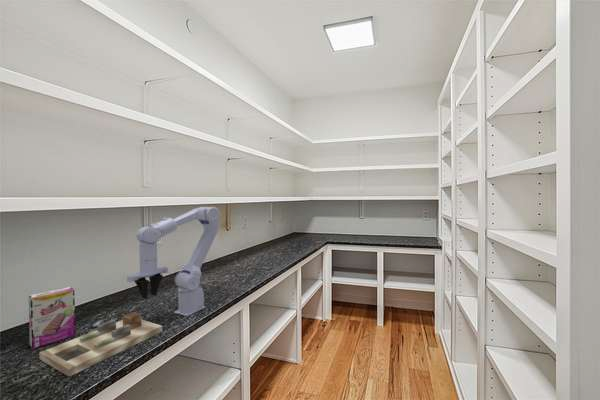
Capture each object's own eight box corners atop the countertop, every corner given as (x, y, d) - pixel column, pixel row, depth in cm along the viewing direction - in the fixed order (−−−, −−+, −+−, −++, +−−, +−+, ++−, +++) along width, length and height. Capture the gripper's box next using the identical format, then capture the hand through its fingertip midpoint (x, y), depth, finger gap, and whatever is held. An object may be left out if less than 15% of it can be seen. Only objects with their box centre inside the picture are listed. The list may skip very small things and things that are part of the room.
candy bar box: (32, 350, 87) (29, 298, 87) (29, 345, 91) (27, 295, 90) (76, 336, 96) (74, 288, 96) (73, 331, 99) (71, 285, 99)
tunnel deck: (131, 321, 106) (131, 308, 106) (162, 331, 97) (161, 317, 97) (39, 359, 82) (38, 342, 82) (69, 376, 74) (68, 357, 74)
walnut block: (134, 323, 100) (134, 312, 100) (141, 325, 98) (141, 314, 98) (123, 328, 97) (122, 316, 96) (129, 330, 95) (129, 318, 95)
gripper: (159, 255, 111) (160, 289, 111) (121, 262, 99) (122, 301, 99) (171, 256, 108) (171, 291, 108) (133, 264, 95) (134, 304, 95)
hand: (149, 296), depth 103 cm, fingers open, 3 cm apart
